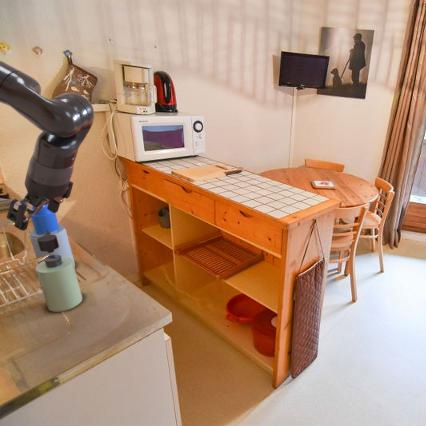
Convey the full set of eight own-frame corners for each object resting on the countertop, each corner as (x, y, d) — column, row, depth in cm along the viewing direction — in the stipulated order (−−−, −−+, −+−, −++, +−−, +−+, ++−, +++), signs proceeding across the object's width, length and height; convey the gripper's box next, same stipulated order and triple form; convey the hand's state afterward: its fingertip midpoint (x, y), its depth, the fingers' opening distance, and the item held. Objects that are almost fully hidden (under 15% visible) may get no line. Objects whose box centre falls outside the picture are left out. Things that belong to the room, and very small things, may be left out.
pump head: (60, 253, 85) (56, 239, 83) (40, 256, 83) (36, 242, 81) (60, 241, 90) (57, 228, 88) (42, 245, 88) (38, 231, 86)
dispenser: (82, 305, 91) (70, 261, 85) (46, 315, 87) (31, 269, 81) (82, 290, 97) (71, 248, 91) (48, 299, 92) (34, 254, 87)
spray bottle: (80, 267, 108) (62, 199, 98) (48, 279, 100) (26, 207, 91) (67, 259, 112) (49, 192, 102) (36, 270, 105) (13, 199, 95)
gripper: (61, 152, 77) (47, 197, 84) (1, 174, 64) (-8, 225, 72) (90, 171, 78) (74, 214, 86) (37, 196, 66) (24, 243, 73)
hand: (37, 219), depth 79 cm, fingers open, 8 cm apart
